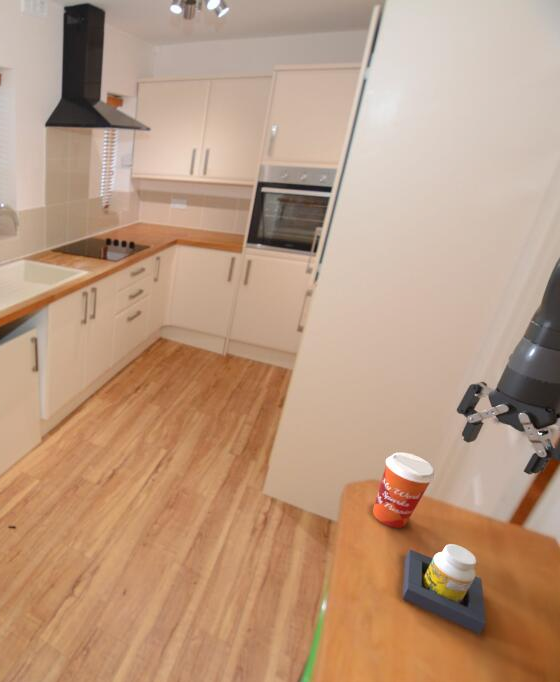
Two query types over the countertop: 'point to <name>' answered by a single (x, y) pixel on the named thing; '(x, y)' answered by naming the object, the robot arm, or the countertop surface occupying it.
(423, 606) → the bottle holder
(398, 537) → the countertop surface
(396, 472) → the paper cup
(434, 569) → the supplement bottle
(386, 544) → the countertop surface
